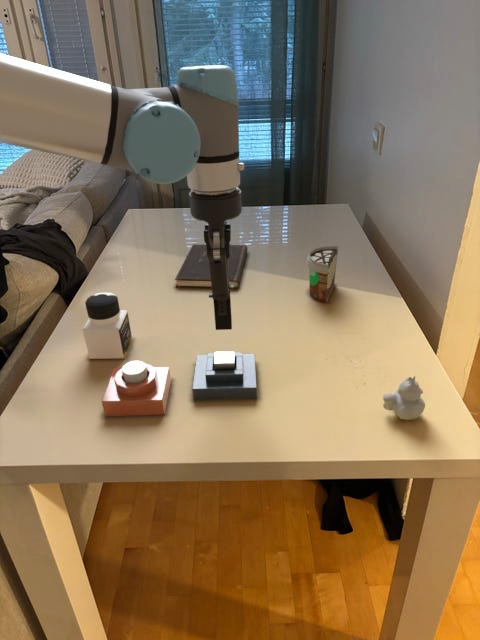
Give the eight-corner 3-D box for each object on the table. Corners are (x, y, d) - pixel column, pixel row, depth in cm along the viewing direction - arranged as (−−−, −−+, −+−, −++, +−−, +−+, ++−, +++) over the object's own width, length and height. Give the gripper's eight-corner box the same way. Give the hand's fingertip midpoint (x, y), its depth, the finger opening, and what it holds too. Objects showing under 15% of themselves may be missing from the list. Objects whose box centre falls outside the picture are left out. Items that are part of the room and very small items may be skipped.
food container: (311, 279, 119) (313, 242, 114) (335, 282, 117) (338, 245, 112) (299, 301, 109) (300, 262, 104) (325, 305, 107) (327, 265, 102)
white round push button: (121, 384, 78) (119, 374, 76) (126, 370, 81) (124, 360, 80) (145, 384, 77) (143, 374, 76) (149, 369, 81) (147, 359, 80)
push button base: (193, 399, 81) (191, 381, 79) (197, 365, 89) (196, 348, 87) (256, 398, 80) (256, 380, 78) (254, 363, 89) (254, 346, 87)
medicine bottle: (125, 359, 92) (114, 306, 85) (89, 359, 92) (76, 306, 86) (132, 339, 98) (123, 288, 92) (99, 339, 98) (87, 288, 92)
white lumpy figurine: (426, 427, 73) (435, 387, 69) (383, 424, 74) (390, 385, 70) (418, 404, 78) (426, 365, 74) (378, 402, 79) (384, 364, 75)
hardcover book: (175, 287, 118) (174, 279, 116) (193, 251, 137) (192, 244, 136) (238, 289, 116) (238, 280, 115) (247, 252, 135) (247, 245, 134)
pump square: (214, 371, 81) (213, 363, 81) (215, 359, 85) (214, 351, 84) (234, 371, 81) (234, 363, 81) (234, 359, 85) (234, 351, 84)
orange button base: (104, 416, 78) (99, 392, 75) (116, 382, 85) (112, 360, 83) (164, 414, 78) (161, 391, 75) (171, 380, 85) (168, 358, 83)
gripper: (241, 200, 61) (246, 348, 73) (240, 175, 72) (245, 307, 84) (184, 203, 61) (199, 350, 73) (192, 177, 72) (204, 308, 85)
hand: (223, 327), depth 79 cm, fingers closed
